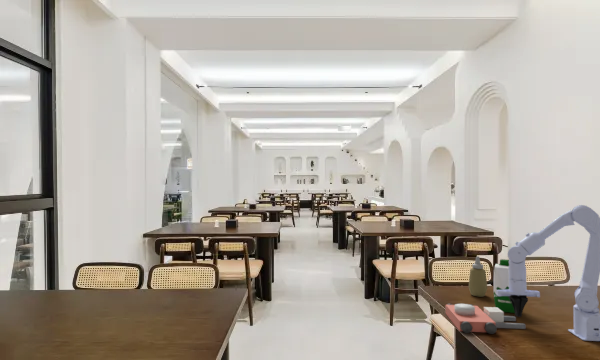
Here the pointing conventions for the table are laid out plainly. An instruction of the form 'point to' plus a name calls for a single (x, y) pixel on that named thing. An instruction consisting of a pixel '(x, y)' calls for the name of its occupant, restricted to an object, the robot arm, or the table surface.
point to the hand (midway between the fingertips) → (518, 316)
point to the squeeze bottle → (477, 279)
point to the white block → (495, 314)
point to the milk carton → (502, 286)
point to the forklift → (477, 319)
